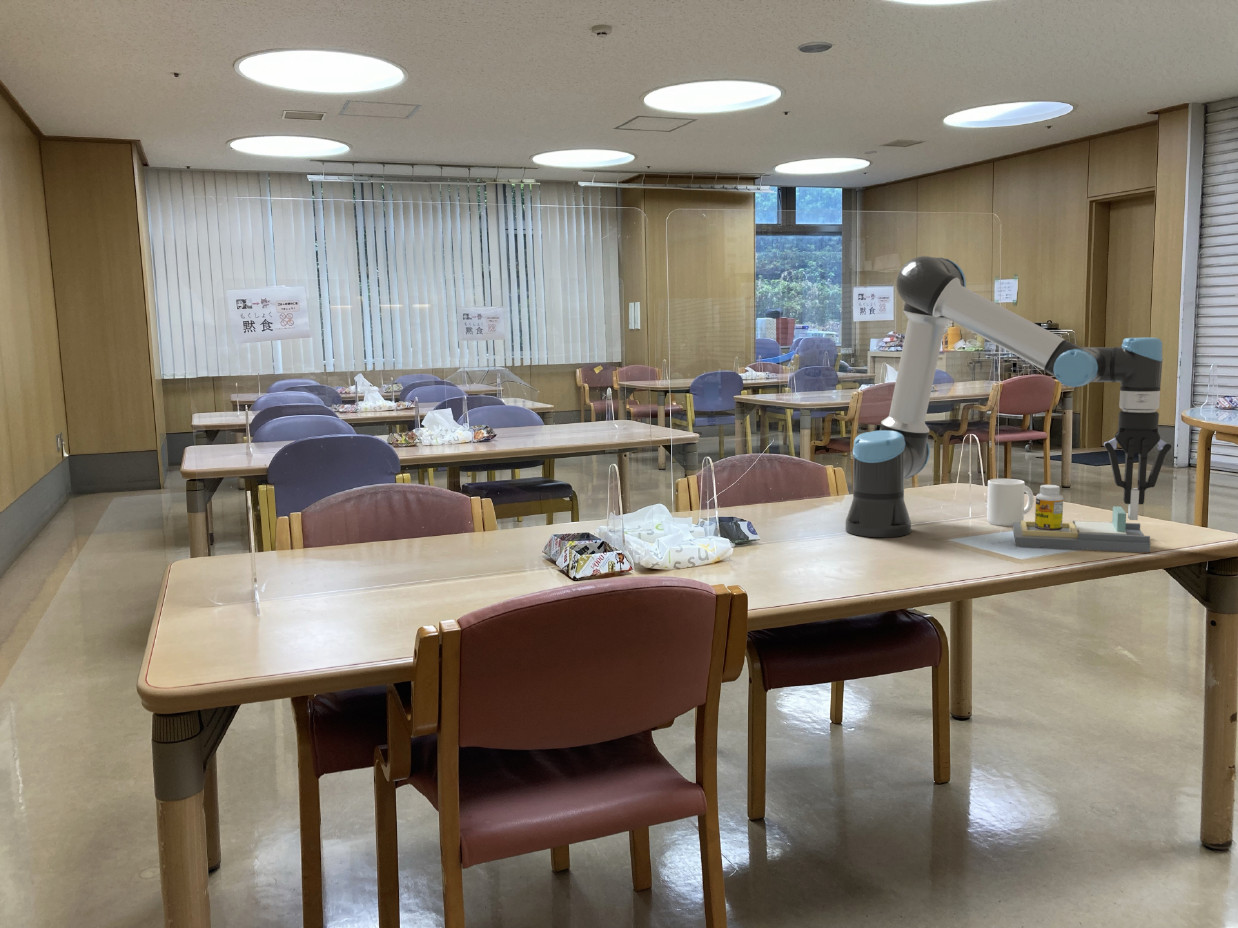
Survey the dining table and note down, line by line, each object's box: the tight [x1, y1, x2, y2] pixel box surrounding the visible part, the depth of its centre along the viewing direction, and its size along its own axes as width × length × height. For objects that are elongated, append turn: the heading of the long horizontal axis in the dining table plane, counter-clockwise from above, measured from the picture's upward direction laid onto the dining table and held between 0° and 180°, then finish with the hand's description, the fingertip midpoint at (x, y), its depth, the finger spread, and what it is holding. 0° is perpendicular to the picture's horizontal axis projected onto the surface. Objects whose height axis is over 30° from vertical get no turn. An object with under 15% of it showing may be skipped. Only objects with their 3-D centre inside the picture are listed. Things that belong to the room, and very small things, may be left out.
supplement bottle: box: [1034, 484, 1064, 531], centre depth 211 cm, size 6×6×10 cm
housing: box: [1012, 520, 1151, 553], centre depth 209 cm, size 26×16×3 cm, turn 69°
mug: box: [986, 478, 1035, 527], centre depth 230 cm, size 12×8×10 cm
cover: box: [1074, 506, 1127, 535], centre depth 208 cm, size 9×11×5 cm
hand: (1132, 518), depth 205 cm, fingers closed
